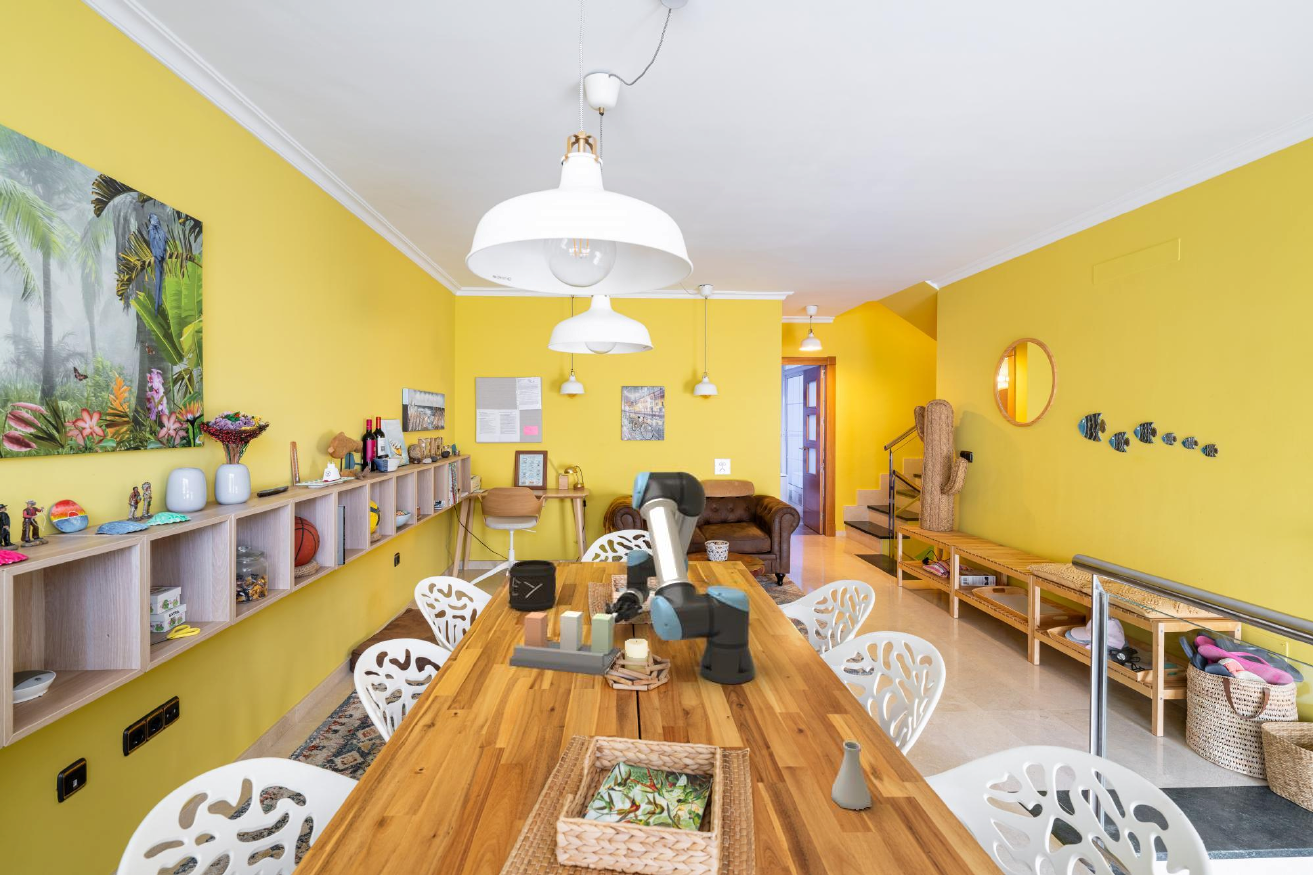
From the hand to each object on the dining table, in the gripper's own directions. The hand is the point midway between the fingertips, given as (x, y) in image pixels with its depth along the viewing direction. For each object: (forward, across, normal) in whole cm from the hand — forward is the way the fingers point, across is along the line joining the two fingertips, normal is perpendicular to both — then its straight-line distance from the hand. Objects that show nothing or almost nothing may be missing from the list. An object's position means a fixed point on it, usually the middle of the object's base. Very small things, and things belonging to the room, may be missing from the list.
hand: (609, 623), depth 184 cm
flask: (+61, -65, -8) cm, 89 cm away
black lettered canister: (-36, +42, -8) cm, 56 cm away
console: (+11, +9, -8) cm, 16 cm away
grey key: (+7, +9, -6) cm, 13 cm away
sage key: (+7, 0, -6) cm, 9 cm away
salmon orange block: (+11, +19, -6) cm, 23 cm away
